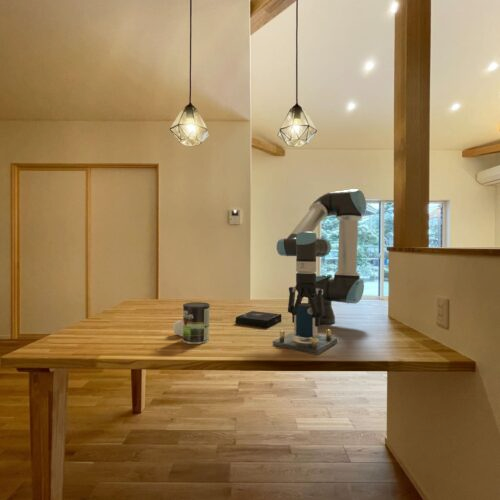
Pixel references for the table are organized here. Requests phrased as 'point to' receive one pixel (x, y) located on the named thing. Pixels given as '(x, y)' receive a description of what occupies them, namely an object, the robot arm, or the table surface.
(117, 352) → the table surface
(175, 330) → the duck figurine
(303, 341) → the chassis plate
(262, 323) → the portable cd player
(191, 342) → the coffee can
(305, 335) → the soda can
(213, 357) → the table surface
